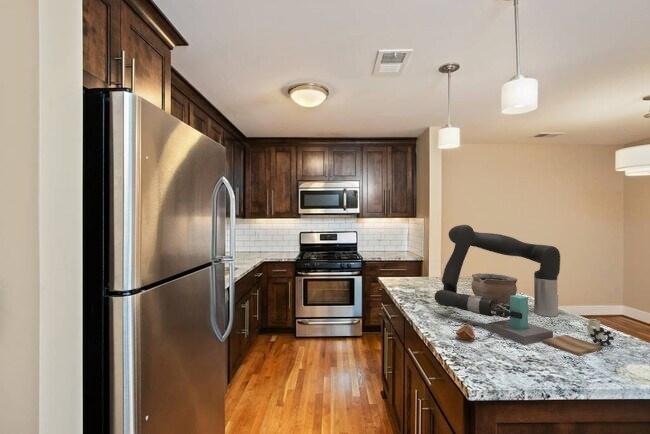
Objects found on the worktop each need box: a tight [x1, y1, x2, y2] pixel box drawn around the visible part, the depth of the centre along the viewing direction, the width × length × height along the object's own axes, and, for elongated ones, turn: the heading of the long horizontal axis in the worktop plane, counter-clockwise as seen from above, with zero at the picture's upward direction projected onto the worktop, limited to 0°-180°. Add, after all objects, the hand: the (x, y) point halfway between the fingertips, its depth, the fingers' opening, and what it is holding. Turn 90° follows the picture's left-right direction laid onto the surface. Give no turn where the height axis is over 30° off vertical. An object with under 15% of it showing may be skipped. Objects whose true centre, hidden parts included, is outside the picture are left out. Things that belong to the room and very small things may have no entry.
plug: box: [509, 294, 529, 330], centre depth 126 cm, size 4×4×15 cm
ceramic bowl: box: [471, 272, 518, 304], centre depth 172 cm, size 22×22×15 cm
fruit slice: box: [455, 323, 476, 341], centre depth 120 cm, size 8×7×5 cm
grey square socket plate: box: [486, 318, 554, 346], centre depth 126 cm, size 16×16×3 cm
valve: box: [587, 318, 615, 347], centre depth 120 cm, size 7×7×12 cm
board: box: [541, 334, 604, 357], centre depth 115 cm, size 14×12×1 cm
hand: (525, 314), depth 124 cm, fingers open, 7 cm apart
